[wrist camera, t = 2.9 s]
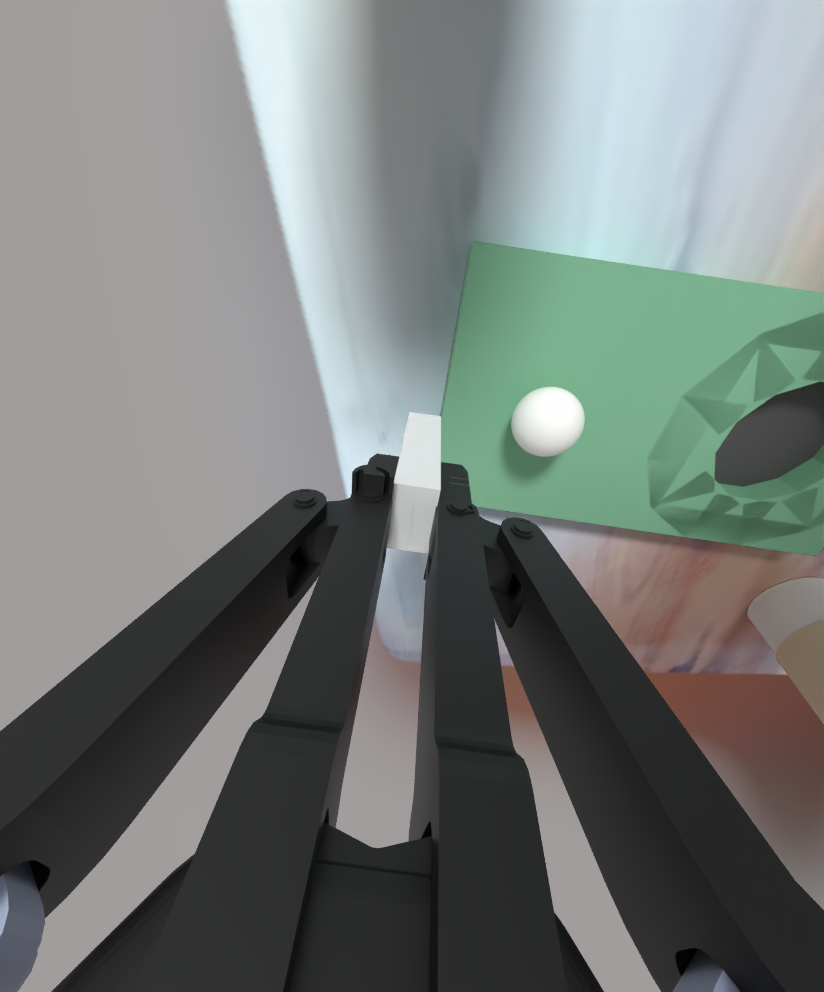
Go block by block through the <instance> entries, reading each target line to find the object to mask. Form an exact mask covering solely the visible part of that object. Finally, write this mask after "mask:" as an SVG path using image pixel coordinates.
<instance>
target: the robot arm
mask: <svg viewBox="0 0 824 992" xmlns="http://www.w3.org/2000/svg"><path fill="white" fill-rule="evenodd" d="M386 548H391V549H398V550H405V551H412V552H419V553H426V554H428V551H429V555H428V559H427V564H426V569H425V574H424V580H426V584H425V602H424V621H423V639H422V657H421V675H420V676H421V677H420V694H419V712H418V731H417V749H416V766H415V785H414V798H413V805H412V813H411V820H410V829H409V842H405V843H400V844H396V845H392V846H388V847H383V848H372V847H370V846H368V845H366V844H364V843H362V842H360V841H359V840H357V839H355V838H353V837H351V836H349V835H347V834H345V833H344V832H342V831H340V830H338V829H336V828H335V827H336V822H337V815H338V809H339V803H340V796H341V789H342V783H343V778H344V772H345V767H346V762H347V756H348V751H349V746H350V740H351V736H352V730H353V725H354V719H355V715H356V709H357V704H358V699H359V693H360V688H361V683H362V678H363V673H364V667H365V662H366V657H367V651H368V646H369V641H370V636H371V631H372V626H373V620H374V615H375V610H376V605H377V599H378V594H379V589H380V584H381V578H382V573H383V568H384V563H385V557H386ZM318 577H319V578H318ZM317 578H318V580H317ZM316 580H317V583H316V586H315V588H314V591H313V594H312V596H311V598H310V601H309V603H308V606H307V608H306V611H305V613H304V616H303V618H302V621H301V624H300V626H299V629H298V631H297V634H296V636H295V639H294V641H293V644H292V647H291V649H290V651H289V654H288V656H287V659H286V661H285V664H284V667H283V669H282V672H281V674H280V677H279V679H278V682H277V684H276V687H275V689H274V692H273V695H272V697H271V699H270V702H269V704H268V707H267V709H266V711H265V713H264V714H263V716H262V717H261V718H260V719H258V720H257V721H255V722H254V723H253V724H252V725H251V727H250V728H249V730H248V732H247V733H246V735H245V737H244V739H243V742H242V743H241V746H240V748H239V751H238V752H237V755H236V758H235V760H234V762H233V764H232V767H231V769H230V771H229V774H228V776H227V779H226V781H225V783H224V786H223V788H222V791H221V793H220V795H219V798H218V800H217V802H216V805H215V807H214V810H213V812H212V814H211V817H210V819H209V821H208V824H207V826H206V829H205V831H204V833H203V836H202V838H201V841H200V843H199V845H198V848H197V850H196V853H195V854H194V855H193V856H191V857H190V858H189V859H188V860H187V861H185V862H184V863H183V864H182V865H181V866H179V867H178V868H177V869H176V870H174V871H173V872H172V873H171V874H170V875H169V876H168V877H167V878H166V879H165V880H164V881H163V882H162V883H161V884H160V885H159V886H158V887H157V888H156V889H155V890H154V891H153V892H152V893H151V894H150V895H149V896H148V897H147V898H146V899H145V900H144V901H143V902H142V903H141V904H140V905H139V906H138V907H137V908H136V909H135V910H133V912H131V914H129V915H128V917H127V918H125V919H124V921H122V922H121V923H120V924H119V925H118V926H117V927H116V928H115V929H114V930H113V931H112V932H111V933H110V934H109V935H108V936H107V937H106V938H105V939H104V940H103V941H102V942H101V943H100V944H99V945H98V946H97V947H96V948H95V949H94V950H93V951H92V952H91V953H90V954H89V955H88V956H87V957H86V958H85V959H84V960H83V961H82V962H81V963H80V964H79V965H78V966H77V967H76V968H75V969H74V970H73V971H72V972H71V973H70V974H69V975H68V976H67V977H66V978H65V979H64V980H63V981H62V982H61V983H60V984H59V985H58V986H57V987H56V988H55V989H53V991H52V992H604V991H603V989H602V988H601V986H600V984H599V983H598V981H597V980H596V978H595V976H594V975H593V973H592V971H591V970H590V968H589V966H588V965H587V963H586V961H585V960H584V958H583V956H582V955H581V953H580V951H579V950H578V948H577V946H576V945H575V943H574V941H573V940H572V938H571V936H570V935H569V933H568V932H567V930H566V928H565V927H564V925H563V924H562V922H561V921H560V919H559V918H558V917H557V916H556V914H555V913H554V910H553V904H552V899H551V892H550V887H549V881H548V875H547V869H546V863H545V858H544V852H543V847H542V841H541V834H540V829H539V823H538V817H537V811H536V806H535V800H534V794H533V788H532V784H531V779H530V776H529V771H528V768H527V766H526V764H525V761H524V759H523V758H522V757H521V756H520V755H518V754H517V753H516V751H515V749H514V747H513V742H512V738H511V731H510V724H509V718H508V711H507V704H506V697H505V690H504V683H503V677H502V670H501V663H500V656H499V649H498V642H497V636H496V629H495V622H494V618H495V621H496V623H497V625H498V628H499V630H500V633H501V635H502V637H503V640H504V642H505V645H506V647H507V649H508V652H509V654H510V656H511V659H512V661H513V664H514V666H515V668H516V671H517V673H518V675H519V678H520V680H521V682H522V685H523V687H524V690H525V692H526V695H527V697H528V699H529V702H530V704H531V706H532V709H533V711H534V713H535V716H536V718H537V721H538V723H539V725H540V728H541V730H542V732H543V735H544V737H545V740H546V742H547V745H548V747H549V749H550V752H551V754H552V756H553V759H554V761H555V764H556V766H557V768H558V770H559V773H560V775H561V778H562V780H563V783H564V785H565V787H566V790H567V792H568V795H569V797H570V799H571V801H572V804H573V806H574V809H575V811H576V814H577V816H578V818H579V821H580V823H581V826H582V828H583V830H584V833H585V835H586V837H587V839H588V842H589V844H590V847H591V849H592V852H593V854H594V856H595V859H596V861H597V864H598V866H599V868H600V871H601V873H602V876H603V878H604V880H605V883H606V885H607V887H608V889H609V892H610V894H611V896H612V898H613V900H614V902H615V905H616V907H617V909H618V911H619V913H620V916H621V918H622V920H623V922H624V924H625V926H626V929H627V930H628V932H629V934H630V936H631V938H632V940H633V942H634V944H635V946H636V947H637V949H638V951H639V953H640V954H641V957H642V959H643V961H644V962H645V964H646V966H647V968H648V970H649V972H650V973H651V975H652V977H653V979H654V980H655V982H656V984H657V985H658V987H659V989H660V990H661V992H824V910H823V909H822V908H821V907H820V906H819V905H818V904H817V903H816V902H815V901H814V900H813V899H812V898H811V897H810V896H809V895H808V894H807V893H806V891H804V890H803V888H802V887H801V886H800V885H799V884H798V883H797V882H796V881H795V880H794V878H793V877H792V876H791V874H790V873H789V871H788V870H787V869H786V867H785V866H784V865H783V863H782V862H781V861H780V859H779V858H778V856H777V855H776V854H775V852H774V851H773V849H772V848H771V847H770V846H769V844H768V842H767V841H766V840H765V838H764V837H763V836H762V834H761V833H760V832H759V830H758V829H757V827H756V826H755V825H754V823H753V822H752V821H751V819H750V818H749V816H748V815H747V813H746V812H745V811H744V809H743V808H742V807H741V805H740V804H739V802H738V801H737V800H736V798H735V797H734V796H733V794H732V793H731V791H730V790H729V789H728V787H727V786H726V785H725V783H724V782H723V780H722V779H721V778H720V776H719V775H718V774H717V772H716V771H715V769H714V768H713V767H712V765H711V764H710V763H709V761H708V760H707V758H706V757H705V755H704V754H703V753H702V751H701V750H700V749H699V747H698V746H697V744H696V743H695V742H694V740H693V739H692V738H691V736H690V735H689V733H688V732H687V731H686V729H685V728H684V727H683V725H682V724H681V722H680V721H679V720H678V718H677V717H676V716H675V714H674V713H673V711H672V710H671V709H670V707H669V706H668V704H667V703H666V702H665V700H664V699H663V698H662V696H661V695H660V693H659V692H658V691H657V689H656V688H655V687H654V685H653V684H652V682H651V681H650V680H649V678H648V677H647V675H646V674H645V673H644V671H643V670H642V669H641V667H640V666H639V664H638V663H637V662H636V660H635V659H634V657H633V656H632V655H631V653H630V652H629V651H628V649H627V648H626V646H625V645H624V644H623V642H622V641H621V640H620V638H619V637H618V635H617V634H616V633H615V631H614V630H613V628H612V627H611V626H610V624H609V623H608V622H607V620H606V619H605V617H604V616H603V615H602V613H601V612H600V611H599V609H598V608H597V606H596V605H595V604H594V602H593V601H592V599H591V598H590V597H589V595H588V594H587V593H586V591H585V590H584V588H583V587H582V586H581V584H580V583H579V582H578V580H577V579H576V577H575V576H574V575H573V573H572V572H571V570H570V569H569V568H568V566H567V565H566V564H565V562H564V561H563V559H562V558H561V557H560V555H559V554H558V553H557V551H556V550H555V548H554V547H553V546H552V544H551V543H550V541H549V540H548V539H547V537H546V536H545V535H544V533H543V532H542V530H541V529H540V528H539V527H538V526H537V525H535V524H533V523H532V522H530V521H528V520H525V519H522V518H514V517H513V518H507V519H505V520H504V521H502V524H501V526H500V525H498V524H495V523H492V522H489V521H487V520H485V519H483V518H482V517H480V516H479V513H478V510H477V508H476V506H475V505H473V504H472V500H471V492H470V486H469V477H468V471H467V470H466V469H465V468H464V467H463V465H459V464H452V463H446V462H441V416H436V415H429V414H422V413H415V412H409V417H408V421H407V426H406V430H405V434H404V439H403V443H402V448H401V452H400V457H397V456H391V455H384V454H376V455H374V456H373V457H372V458H370V460H369V462H368V465H363V466H360V467H357V468H356V469H355V470H354V471H353V472H352V494H351V497H350V498H348V499H345V500H341V501H329V502H327V501H326V497H325V496H324V494H323V493H320V492H319V491H316V490H311V489H300V490H296V491H293V492H291V493H289V494H287V495H286V496H284V497H283V498H282V499H281V500H279V501H278V502H277V503H276V504H275V505H273V506H272V507H271V508H270V509H269V510H267V511H266V512H265V513H264V514H263V515H262V516H260V517H259V518H258V519H256V520H255V521H254V522H253V523H252V524H250V525H249V526H248V527H247V528H246V529H245V530H243V531H242V532H241V533H240V534H239V535H237V536H236V537H235V538H234V539H232V540H231V541H230V542H229V543H227V544H226V545H225V546H224V547H223V548H221V549H220V550H219V551H218V552H217V553H216V554H214V555H213V556H212V557H211V558H209V559H208V560H207V561H206V562H204V563H203V564H202V565H201V566H200V567H198V568H197V569H196V570H195V571H194V572H192V573H191V574H190V575H189V576H188V577H186V578H185V579H184V580H183V581H182V582H180V583H179V584H178V585H177V586H175V587H174V588H173V589H172V590H171V591H169V592H168V593H167V594H166V595H165V596H163V597H162V598H161V599H160V600H159V601H157V602H156V603H155V604H154V605H152V606H151V607H150V608H149V609H148V610H147V611H145V612H144V613H143V614H142V615H140V616H139V617H138V618H137V619H136V620H134V621H133V622H132V623H131V624H130V625H128V626H127V627H126V628H125V629H123V630H122V631H121V632H120V633H119V634H117V635H116V636H115V637H114V638H113V639H111V640H110V641H109V642H108V643H107V644H105V645H104V646H103V647H102V648H100V649H99V650H98V651H97V652H96V653H94V654H93V655H92V656H91V657H90V658H88V659H87V660H86V661H85V662H84V663H82V664H81V665H80V666H79V667H77V668H76V669H75V670H74V671H73V672H71V673H70V674H69V675H68V676H67V677H65V678H64V679H63V680H62V681H61V682H59V683H58V684H57V685H56V686H55V687H53V688H52V689H51V690H50V691H48V692H47V693H46V694H45V695H44V696H42V697H41V698H40V699H39V700H38V701H36V702H35V703H34V704H33V705H32V706H30V707H29V708H28V709H27V710H25V712H23V713H22V714H21V715H19V716H18V717H17V718H16V719H15V720H13V721H12V722H11V723H10V724H9V725H7V726H6V727H5V728H4V729H3V730H1V731H0V992H17V991H18V990H19V989H20V988H21V986H22V985H23V983H24V981H25V980H26V978H27V977H28V976H29V974H30V973H31V971H32V968H33V965H34V963H35V960H36V957H37V950H38V948H39V945H40V943H41V939H42V934H43V929H44V924H45V918H46V917H47V916H48V915H49V914H50V913H51V912H52V911H53V910H54V909H55V908H56V907H57V906H58V905H59V904H60V903H61V902H62V901H63V900H64V899H66V897H67V896H68V895H69V894H70V893H71V892H72V891H73V890H74V889H75V887H77V886H78V884H79V883H80V882H81V881H82V880H83V879H84V878H85V877H86V876H87V875H88V874H89V873H90V871H91V870H92V869H93V868H94V867H95V866H96V865H97V864H98V863H99V862H100V861H101V859H102V858H103V857H104V856H105V855H106V853H107V852H108V851H109V850H110V849H111V847H112V846H113V845H114V844H115V842H116V841H117V840H118V839H119V838H120V836H121V835H122V834H123V833H124V831H125V830H126V829H127V827H129V825H130V824H131V823H132V822H133V820H134V819H135V818H136V816H137V815H138V814H139V812H140V811H141V810H142V808H143V807H144V806H145V805H146V803H147V802H148V800H149V799H150V798H151V797H152V795H153V794H154V793H155V791H156V790H157V788H158V787H159V786H160V785H161V783H162V782H163V781H164V780H165V778H166V777H167V776H168V774H169V773H170V772H171V770H172V769H173V768H174V766H175V765H176V764H177V762H178V761H179V760H180V758H181V757H182V756H183V754H184V753H185V752H186V751H187V749H188V748H189V747H190V745H191V744H192V743H193V741H194V740H195V739H196V737H197V736H198V735H199V733H200V732H201V731H202V730H203V728H204V727H205V725H206V724H207V723H208V722H209V720H210V719H211V718H212V716H213V715H214V714H215V712H216V711H217V710H218V708H219V707H220V706H221V705H222V703H223V702H224V700H225V699H226V698H227V697H228V695H229V694H230V693H231V691H232V690H233V689H234V687H235V686H236V684H237V683H238V682H239V681H240V679H241V678H242V677H243V675H244V674H245V673H246V672H247V670H248V669H249V668H250V666H251V665H252V664H253V662H254V661H255V660H256V658H257V657H258V656H259V655H260V653H261V652H262V651H263V649H264V648H265V647H266V645H267V644H268V643H269V641H270V640H271V639H272V637H273V636H274V635H275V633H276V632H277V631H278V629H279V628H280V627H281V626H282V624H283V623H284V621H285V620H286V619H287V618H288V616H289V615H290V614H291V612H292V611H293V610H294V608H295V607H296V606H297V604H298V603H299V602H300V600H301V599H302V598H303V597H304V595H305V594H306V592H307V591H308V590H309V589H310V587H311V586H312V585H313V583H314V582H315V581H316Z"/></svg>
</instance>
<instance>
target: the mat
mask: <svg viewBox="0 0 824 992" xmlns="http://www.w3.org/2000/svg"><path fill="white" fill-rule="evenodd" d="M543 387H558V388H562V389H565V390H567V391H569V392H571V393H572V394H573V395H574V396H575V397H576V398H577V399H578V400H579V402H580V403H581V405H582V407H583V410H584V415H585V422H584V428H583V431H582V433H581V435H580V437H579V439H578V440H577V442H576V443H575V444H574V445H573V446H572V447H571V448H569V449H568V450H566V451H565V452H563V453H561V454H558V455H555V456H549V457H543V456H536V455H533V454H530V453H528V452H526V451H525V450H524V449H522V448H521V447H520V446H519V445H518V443H517V442H516V440H515V438H514V436H513V433H512V428H511V421H512V415H513V412H514V410H515V408H516V406H517V405H518V403H519V402H520V401H521V399H522V398H523V397H525V396H526V395H527V394H528V393H530V392H532V391H534V390H536V389H539V388H543ZM440 416H441V462H446V463H452V464H459V465H463V467H464V468H465V469H466V470H467V471H468V477H469V486H470V492H471V500H472V504H473V505H475V506H476V507H482V508H489V509H496V510H503V511H509V512H516V513H523V514H530V515H537V516H544V517H550V518H557V519H564V520H571V521H578V522H585V523H591V524H598V525H605V526H612V527H619V528H626V529H632V530H639V531H646V532H653V533H660V534H667V535H673V536H680V537H687V538H694V539H701V540H708V541H715V542H721V543H728V544H735V545H742V546H749V547H756V548H762V549H769V550H776V551H783V552H790V553H797V554H803V555H810V556H816V555H817V554H818V553H819V552H820V551H821V550H822V549H823V548H824V293H818V292H811V291H804V290H798V289H791V288H784V287H777V286H771V285H764V284H757V283H750V282H744V281H737V280H730V279H724V278H717V277H710V276H703V275H697V274H690V273H683V272H676V271H670V270H663V269H656V268H649V267H643V266H636V265H629V264H623V263H616V262H609V261H602V260H596V259H589V258H582V257H575V256H569V255H562V254H555V253H549V252H542V251H535V250H528V249H522V248H515V247H508V246H501V245H495V244H488V243H481V242H474V241H473V242H472V243H471V245H470V251H469V256H468V262H467V268H466V273H465V279H464V285H463V290H462V296H461V302H460V307H459V313H458V319H457V324H456V330H455V336H454V341H453V347H452V353H451V358H450V364H449V370H448V375H447V381H446V387H445V392H444V398H443V404H442V409H441V415H440Z"/></svg>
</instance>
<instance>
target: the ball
mask: <svg viewBox="0 0 824 992" xmlns="http://www.w3.org/2000/svg"><path fill="white" fill-rule="evenodd" d="M584 422H585V415H584V410H583V407H582V405H581V403H580V402H579V400H578V399H577V398H576V397H575V396H574V395H573V394H572V393H571V392H569V391H567V390H565V389H562V388H558V387H543V388H539V389H536V390H534V391H532V392H530V393H528V394H527V395H526V396H525V397H523V398H522V399H521V401H520V402H519V403H518V405H517V406H516V408H515V410H514V412H513V415H512V421H511V428H512V433H513V436H514V438H515V440H516V442H517V443H518V445H519V446H520V447H521V448H522V449H524V450H525V451H526V452H528V453H530V454H533V455H536V456H543V457H549V456H555V455H558V454H561V453H563V452H565V451H566V450H568V449H569V448H571V447H572V446H573V445H574V444H575V443H576V442H577V440H578V439H579V437H580V435H581V433H582V431H583V428H584Z"/></svg>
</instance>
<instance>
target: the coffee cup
mask: <svg viewBox="0 0 824 992" xmlns="http://www.w3.org/2000/svg"><path fill="white" fill-rule="evenodd" d="M747 615H748V618H749V619H750V620H751V622H752V623H753V625H754V626H755V627H756V629H757V630H758V631H759V633H760V634H761V635H762V637H763V638H764V639H765V641H766V642H767V644H768V645H769V646H770V648H771V649H772V650H773V652H774V653H775V654H776V659H777V661H778V662H779V663H780V665H781V666H782V668H783V669H784V670H785V672H786V673H787V674H788V676H789V677H790V678H791V680H792V681H793V683H794V684H795V685H796V687H797V688H798V690H799V691H800V692H801V694H802V695H803V696H804V698H805V699H806V700H807V702H808V703H809V704H810V706H811V707H812V709H813V710H814V711H815V713H816V714H817V716H818V717H819V718H820V720H821V721H822V723H823V724H824V579H823V578H815V577H809V578H799V579H794V580H790V581H786V582H783V583H780V584H778V585H775V586H773V587H771V588H769V589H767V590H765V591H764V592H762V593H761V594H759V595H758V596H757V597H756V598H755V599H754V600H753V601H752V602H751V603H750V605H749V607H748V610H747Z"/></svg>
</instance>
